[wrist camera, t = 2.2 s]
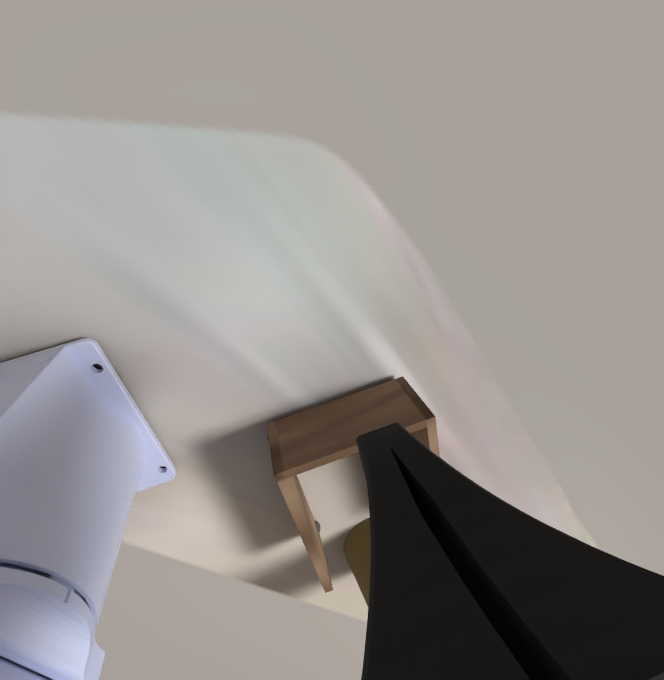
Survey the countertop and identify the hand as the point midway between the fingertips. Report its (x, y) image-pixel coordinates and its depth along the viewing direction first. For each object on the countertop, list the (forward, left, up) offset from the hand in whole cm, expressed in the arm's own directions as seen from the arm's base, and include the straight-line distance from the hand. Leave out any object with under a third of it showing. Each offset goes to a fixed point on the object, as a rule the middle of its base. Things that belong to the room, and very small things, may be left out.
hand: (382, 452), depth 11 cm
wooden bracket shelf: (+10, 0, -10) cm, 14 cm away
